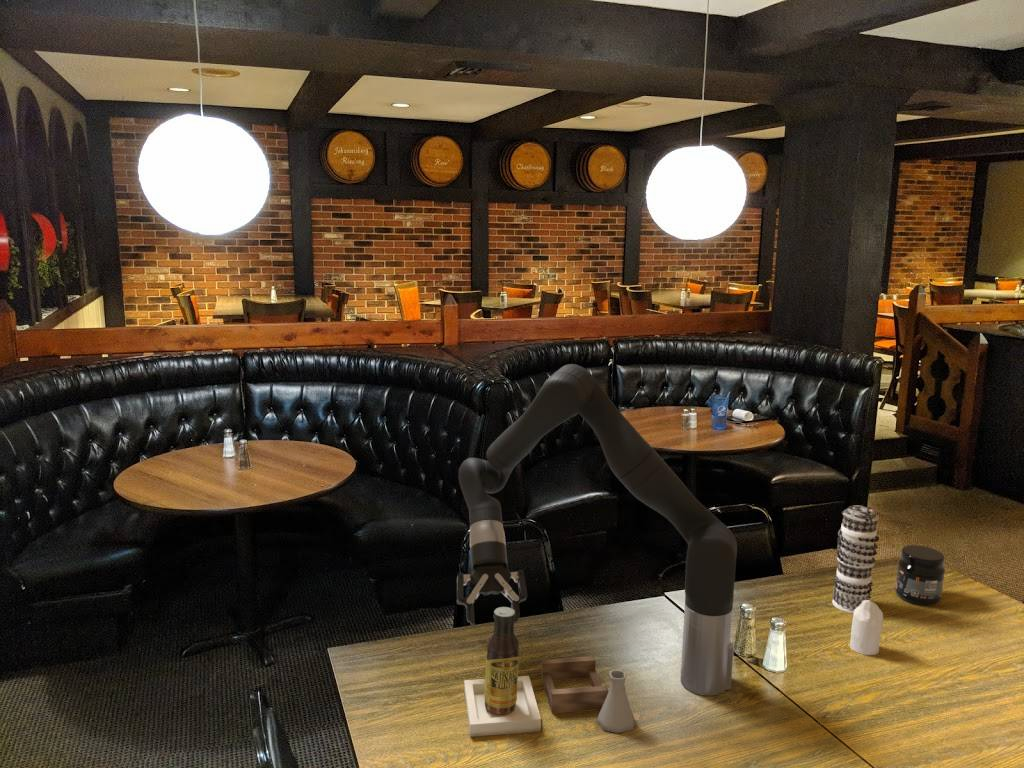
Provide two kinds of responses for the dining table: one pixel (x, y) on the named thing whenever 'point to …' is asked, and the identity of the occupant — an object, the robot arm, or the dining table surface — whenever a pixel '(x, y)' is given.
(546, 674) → the holder
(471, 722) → the tray
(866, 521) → the decorative candle
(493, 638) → the sauce bottle
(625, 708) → the flask
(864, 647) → the white pointed cylinder
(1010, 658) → the dining table surface
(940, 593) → the supplement container
